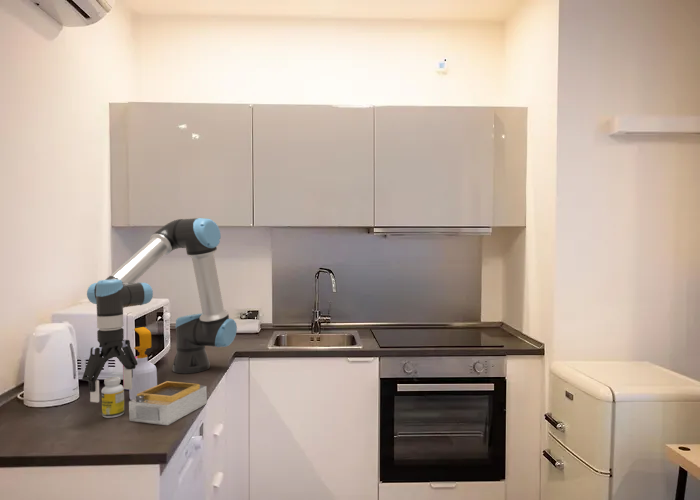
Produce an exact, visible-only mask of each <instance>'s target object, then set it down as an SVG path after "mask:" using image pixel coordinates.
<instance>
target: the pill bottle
mask: <svg viewBox="0 0 700 500" xmlns="http://www.w3.org/2000/svg"><path fill="white" fill-rule="evenodd" d="M121 381H122V380H121V376H111V377H106V378H104V382H103V384H104V386H103V387H102V389H101V390H100V391H101V416H102V417H104V418H106V419H112V418H118V417H120V416H122V415H124V413H125V390H124V387H123V385H122V384H120V383H121Z"/></svg>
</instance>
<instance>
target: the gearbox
mask: <svg viewBox="0 0 700 500" xmlns="http://www.w3.org/2000/svg"><path fill="white" fill-rule="evenodd" d="M207 390H208V389H207V385H201V384H200V383H194V382H192V383H191V382H182V381H169V380H166V381H164V382H162V383H159V384H157V386H154V387H152V388H150V389H147V390H145V391H143V392H140V393H138V394H137V396H136V399H134V400H129V401H128V415H129V419H128V420H129V421H130V422H136V423H143V424H152V425H153V424H154V425H160V426H169V425H171V424H173V423H174V422H176V421H178V420H180V419H181V418H183V417H186V416H187V415H189V414H191V413H193V412H194V411H196V410H198V409H200V408H201V407H203V406H205V405H207V403H208V400H207V398H208V397H207V396H208V395H207V393H208V392H207Z"/></svg>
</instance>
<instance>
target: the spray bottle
mask: <svg viewBox="0 0 700 500" xmlns="http://www.w3.org/2000/svg"><path fill="white" fill-rule="evenodd" d="M133 330H134V331H135V333H137V334H138V336H139V346H134V347H133V349H134V350H136V351H137V352H138V353H139V355H137V365H135V366H136V367H135V369H133V377H132V389H131V390H128V391H129V392H128V394H129V395H128V396H129V399H130V400H129V401H131V400H134V399H136V396H137V394H138V393H140V392H143V391H145V390H147V389H150V388H152V387H154V386H157V385H158V372H157V370H158V369H157V367H156V365H155V364H154V363H152V362H150V361H148V360H149V359H148V354H146V351H147V349H151V348H152V332H151V331H150V330H149V329H148V328H147V327H146V326H142V327H135V328H134V329H133Z"/></svg>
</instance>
